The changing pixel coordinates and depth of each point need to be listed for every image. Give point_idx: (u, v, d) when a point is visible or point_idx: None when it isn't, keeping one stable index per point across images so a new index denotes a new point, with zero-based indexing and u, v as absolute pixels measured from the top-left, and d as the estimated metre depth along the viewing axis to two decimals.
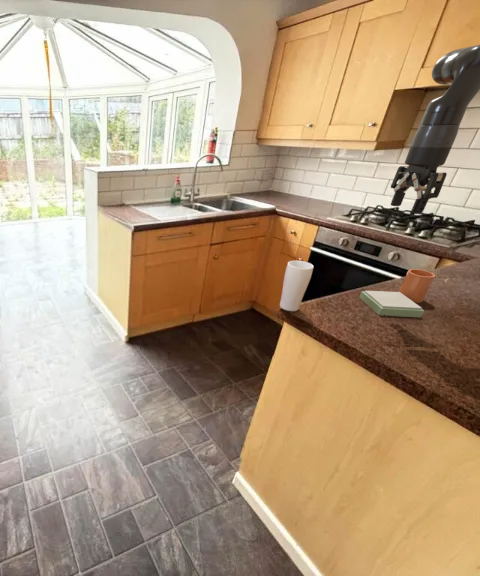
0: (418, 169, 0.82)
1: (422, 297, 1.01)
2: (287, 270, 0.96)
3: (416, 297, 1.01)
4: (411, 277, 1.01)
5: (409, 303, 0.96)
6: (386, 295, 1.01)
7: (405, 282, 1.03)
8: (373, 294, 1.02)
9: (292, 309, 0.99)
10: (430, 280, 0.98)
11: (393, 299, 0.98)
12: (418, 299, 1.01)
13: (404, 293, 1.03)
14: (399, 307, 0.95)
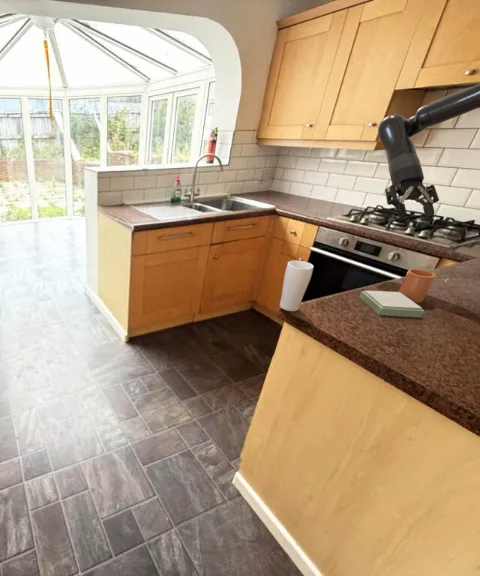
0: None
1: (422, 297, 1.01)
2: (287, 270, 0.96)
3: (416, 297, 1.01)
4: (411, 277, 1.01)
5: (409, 303, 0.96)
6: (386, 295, 1.01)
7: (405, 282, 1.03)
8: (373, 294, 1.02)
9: (292, 309, 0.99)
10: (430, 280, 0.98)
11: (393, 299, 0.98)
12: (418, 299, 1.01)
13: (404, 293, 1.03)
14: (399, 307, 0.95)
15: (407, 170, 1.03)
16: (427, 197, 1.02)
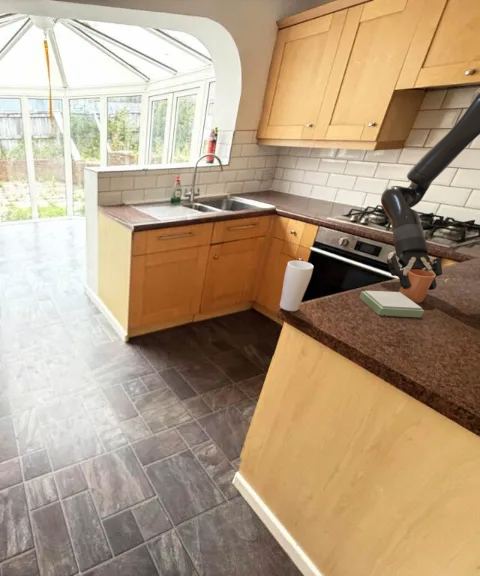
0: None
1: (422, 297, 1.01)
2: (287, 270, 0.96)
3: (416, 297, 1.01)
4: (411, 277, 1.01)
5: (409, 303, 0.96)
6: (386, 295, 1.01)
7: None
8: (373, 294, 1.02)
9: (292, 309, 0.99)
10: (430, 280, 0.98)
11: (393, 299, 0.98)
12: (418, 299, 1.01)
13: (404, 293, 1.03)
14: (399, 307, 0.95)
15: (409, 241, 1.03)
16: (429, 270, 1.01)
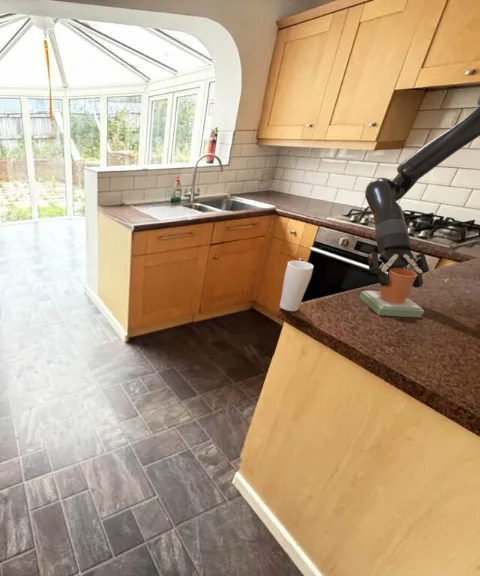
0: None
1: (404, 298, 0.95)
2: (287, 270, 0.96)
3: (398, 298, 0.96)
4: (392, 277, 0.95)
5: (409, 303, 0.96)
6: None
7: None
8: (373, 294, 1.02)
9: (292, 309, 0.99)
10: (412, 280, 0.93)
11: None
12: (400, 300, 0.96)
13: (385, 293, 0.98)
14: (399, 307, 0.95)
15: (391, 237, 0.97)
16: (414, 267, 0.95)
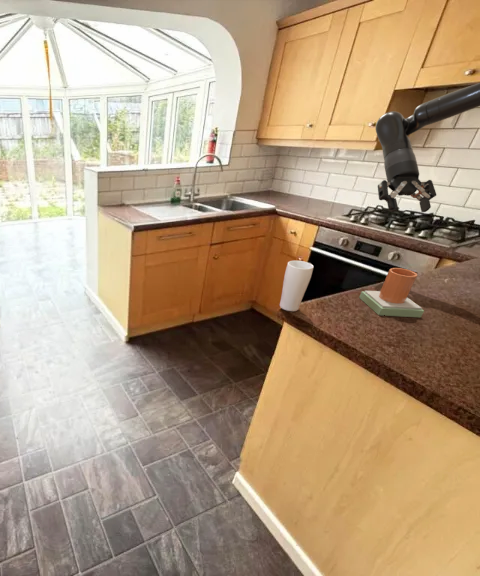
0: None
1: (404, 298, 0.95)
2: (287, 270, 0.96)
3: (398, 298, 0.96)
4: (392, 277, 0.95)
5: (409, 303, 0.96)
6: None
7: (386, 282, 0.97)
8: (373, 294, 1.02)
9: (292, 309, 0.99)
10: (412, 280, 0.93)
11: None
12: (400, 300, 0.96)
13: (385, 293, 0.98)
14: (399, 307, 0.95)
15: (400, 165, 1.02)
16: (422, 192, 1.00)
